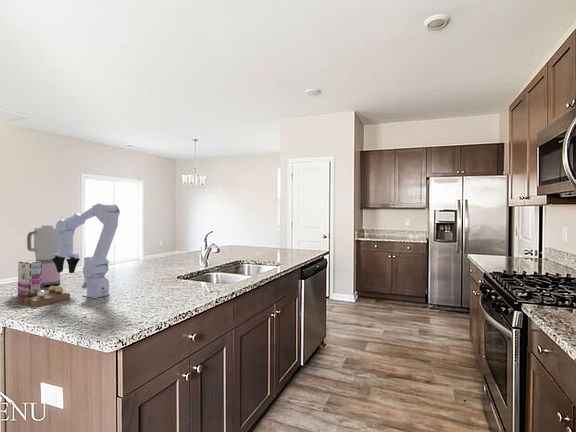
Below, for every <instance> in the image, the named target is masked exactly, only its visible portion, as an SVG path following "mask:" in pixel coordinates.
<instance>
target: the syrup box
mask: <svg viewBox="0 0 576 432" xmlns="http://www.w3.org/2000/svg"><path fill="white" fill-rule="evenodd" d="M92 256H93V255H90V256H85V257H83V266H84V265H85V264H86V263H87V261H88V260H89V259H90V258H91V257H92ZM83 283H84V284H87V278H86V276H85V275H84V274H83Z"/></svg>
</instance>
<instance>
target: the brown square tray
mask: <svg viewBox="0 0 576 432" xmlns="http://www.w3.org/2000/svg"><path fill="white" fill-rule="evenodd" d="M45 291H46V296H45V297H43V298H39V297H38V296H37V293H34V294H28V295H23V296H18V295H17V296H16V303H18V304H21V305H26V306H31V307H34V308H35V307H41V306H44V305H50V304H55V303H58V302H59V303H60V302H64V301H68V300H70V299H71V293H67V292H64V291H63V292H62V293H61V294H56V293H55V292H53V293H51V292H49V291H48V290H45Z"/></svg>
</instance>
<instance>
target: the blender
mask: <svg viewBox="0 0 576 432" xmlns="http://www.w3.org/2000/svg"><path fill="white" fill-rule="evenodd" d="M32 236H33V247H32ZM26 247H27V250H28V251H29V252H34V256H35V261H39V262H42V274H41V288H44V286H47V285H48V286H49V285H50V286H51V285H55V284H58V285H61V272H57V268H56V265H55V263H54V262H53V260H52V258H55V257H53V253H59V231H57V229H56V227H54V225H53V224H49V225H48V224H46V225H45V224H44V225H43V224H42V225H41V226H40V227H34V230H33V231H30V232H28V234H27V237H26Z"/></svg>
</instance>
